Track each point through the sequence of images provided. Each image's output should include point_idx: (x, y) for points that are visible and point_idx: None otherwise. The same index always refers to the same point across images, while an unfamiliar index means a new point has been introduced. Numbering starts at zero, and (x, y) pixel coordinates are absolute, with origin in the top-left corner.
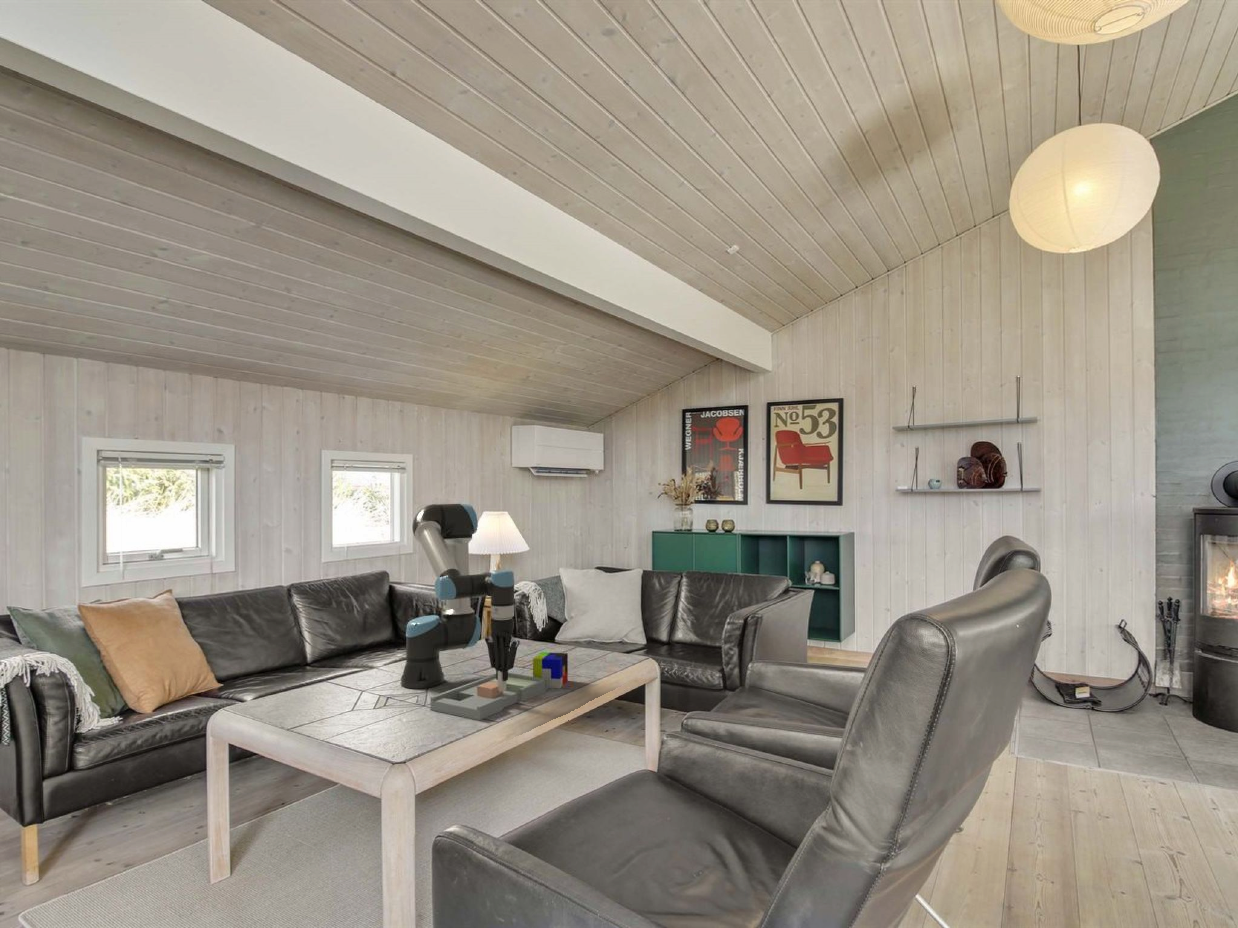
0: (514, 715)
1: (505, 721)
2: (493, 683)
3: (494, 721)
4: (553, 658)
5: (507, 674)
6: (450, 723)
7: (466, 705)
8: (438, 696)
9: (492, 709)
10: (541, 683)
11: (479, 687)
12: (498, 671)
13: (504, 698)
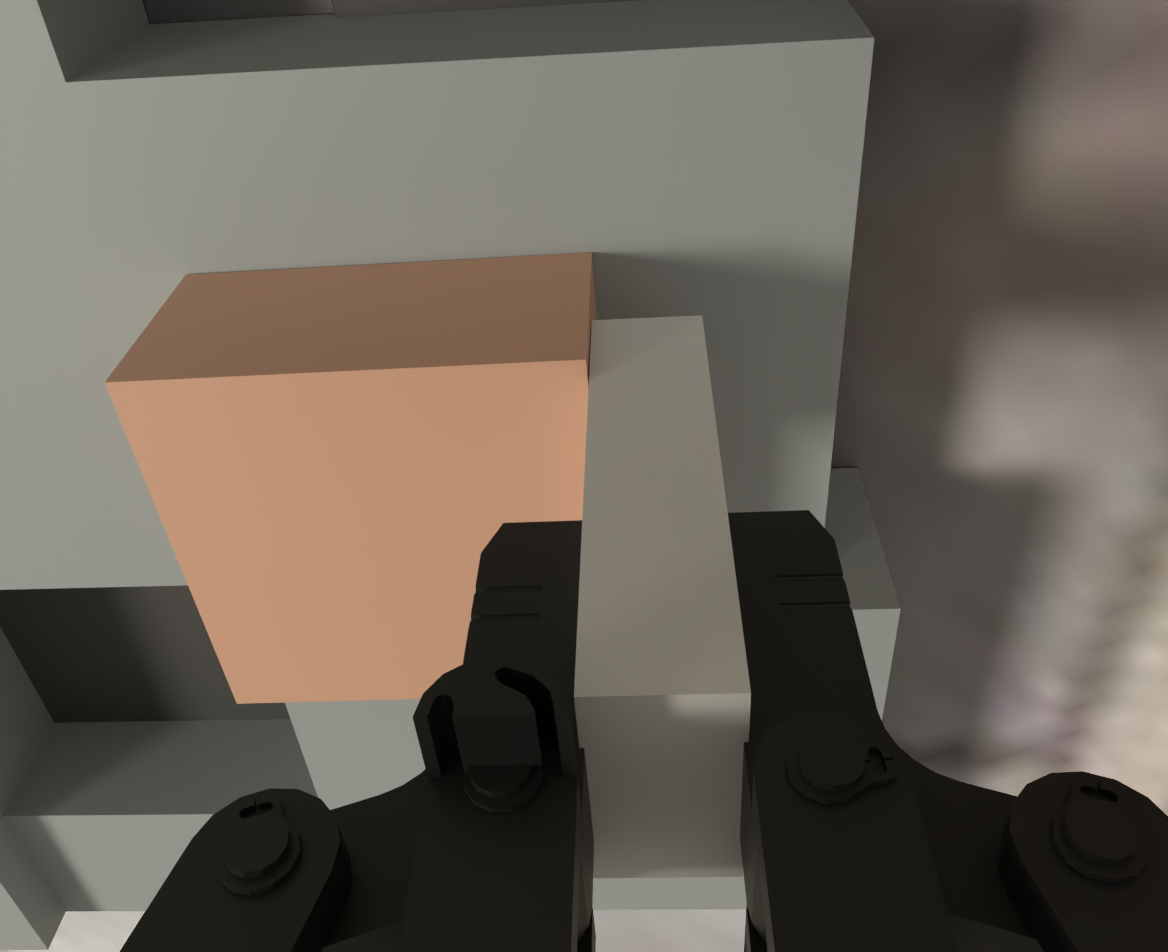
0: (1157, 540)
1: (1139, 719)
2: (327, 433)
3: (1004, 763)
4: None
5: (857, 658)
6: (608, 930)
7: None
8: (15, 888)
9: None
10: None
11: (299, 685)
12: (630, 867)
13: (829, 462)
